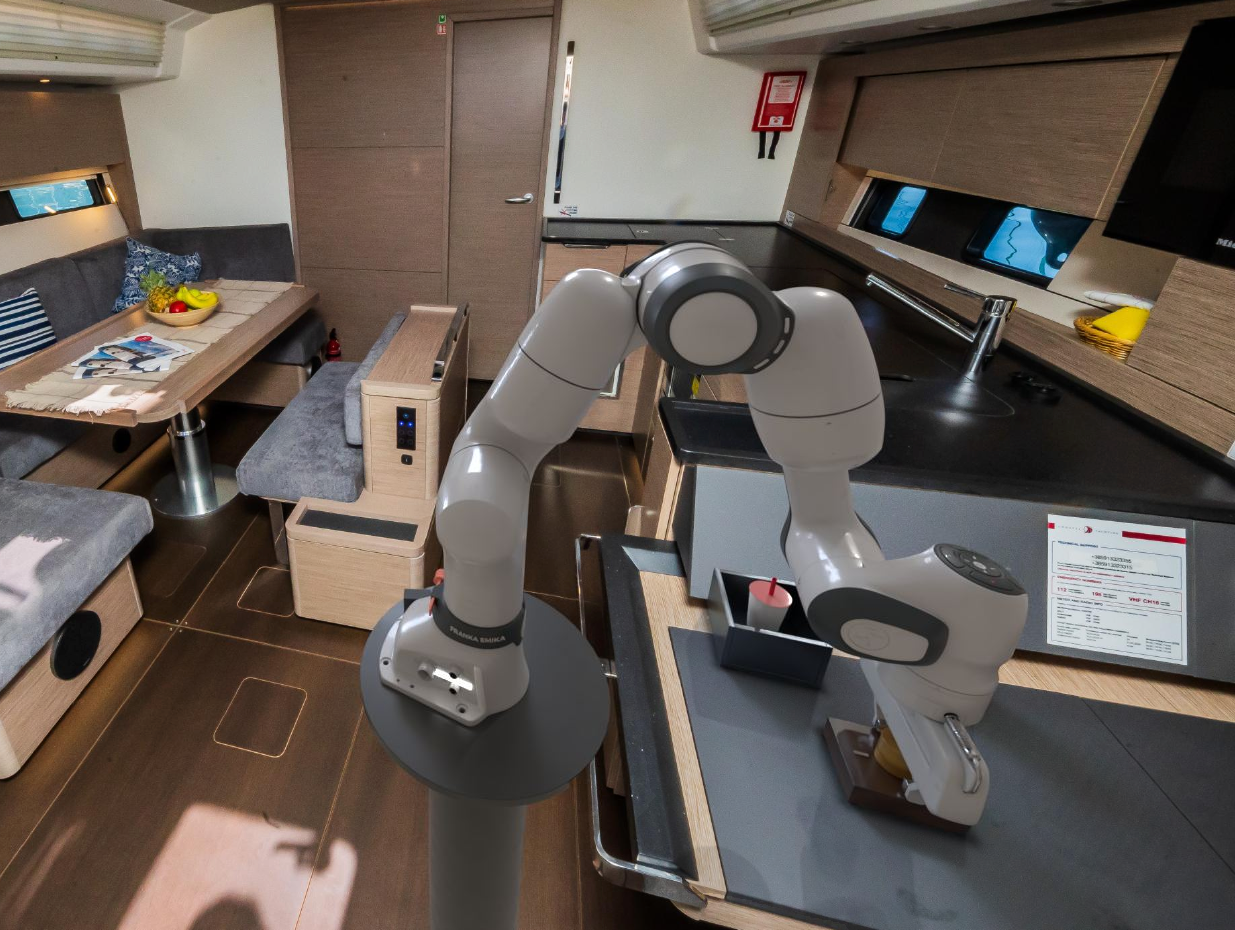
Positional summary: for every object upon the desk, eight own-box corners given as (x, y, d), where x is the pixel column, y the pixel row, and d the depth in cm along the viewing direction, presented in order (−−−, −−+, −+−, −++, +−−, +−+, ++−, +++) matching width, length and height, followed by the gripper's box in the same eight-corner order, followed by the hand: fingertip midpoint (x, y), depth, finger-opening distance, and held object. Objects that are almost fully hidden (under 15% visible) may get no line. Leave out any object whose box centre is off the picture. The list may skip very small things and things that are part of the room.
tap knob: (925, 785, 66) (935, 763, 65) (882, 774, 68) (891, 752, 66) (908, 752, 70) (917, 730, 68) (868, 742, 71) (876, 721, 70)
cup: (760, 657, 86) (776, 594, 81) (730, 629, 90) (744, 569, 86) (788, 647, 87) (806, 585, 83) (757, 621, 92) (772, 561, 87)
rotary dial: (847, 802, 68) (854, 784, 67) (822, 732, 76) (828, 715, 74) (966, 836, 64) (976, 818, 63) (927, 759, 72) (934, 741, 71)
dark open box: (719, 665, 86) (728, 626, 83) (706, 604, 96) (714, 567, 94) (820, 689, 81) (833, 648, 78) (794, 622, 92) (805, 584, 89)
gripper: (1029, 781, 54) (979, 870, 59) (923, 618, 71) (892, 697, 76) (943, 759, 56) (902, 847, 61) (861, 606, 73) (835, 684, 78)
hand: (896, 762), depth 69 cm, fingers open, 7 cm apart
